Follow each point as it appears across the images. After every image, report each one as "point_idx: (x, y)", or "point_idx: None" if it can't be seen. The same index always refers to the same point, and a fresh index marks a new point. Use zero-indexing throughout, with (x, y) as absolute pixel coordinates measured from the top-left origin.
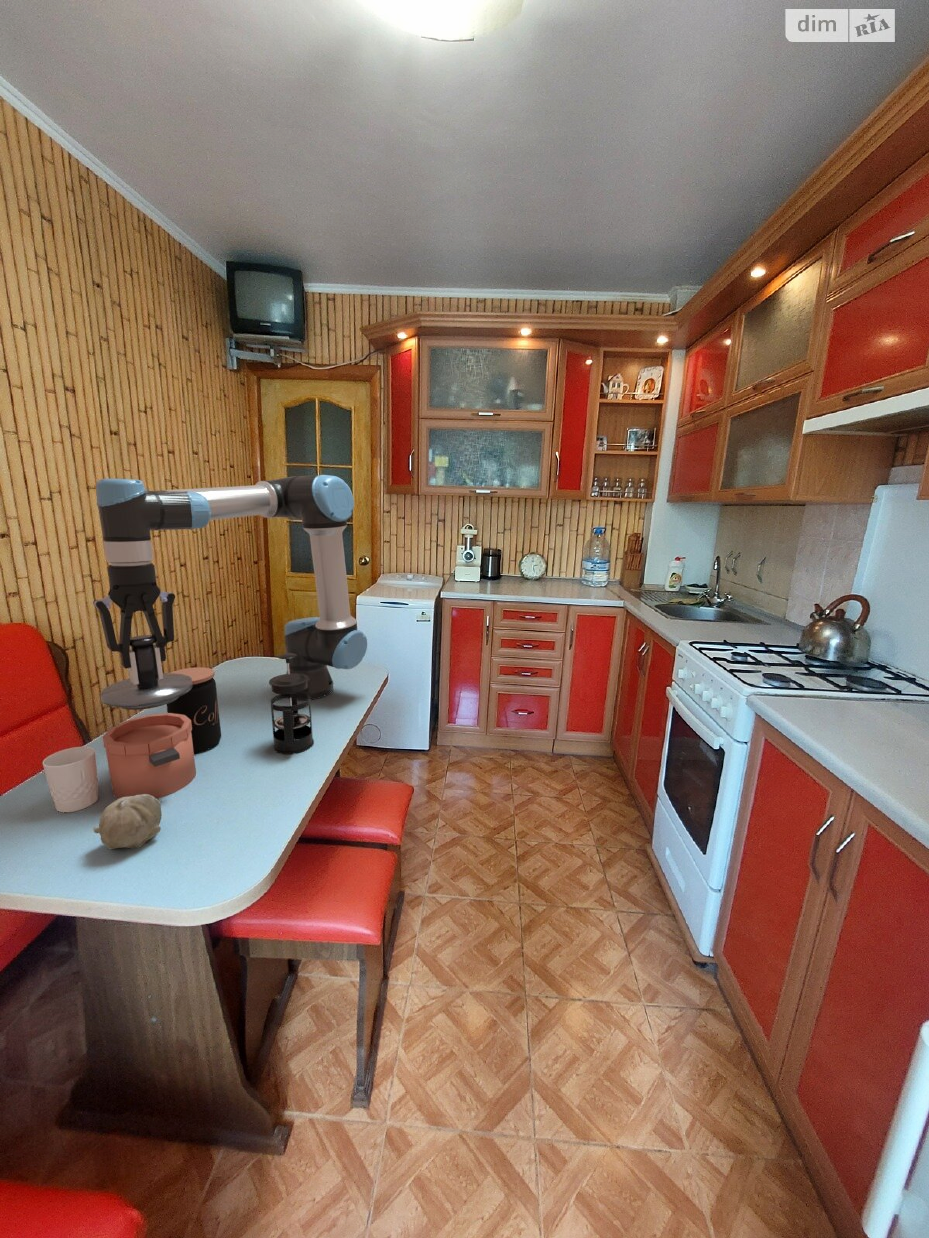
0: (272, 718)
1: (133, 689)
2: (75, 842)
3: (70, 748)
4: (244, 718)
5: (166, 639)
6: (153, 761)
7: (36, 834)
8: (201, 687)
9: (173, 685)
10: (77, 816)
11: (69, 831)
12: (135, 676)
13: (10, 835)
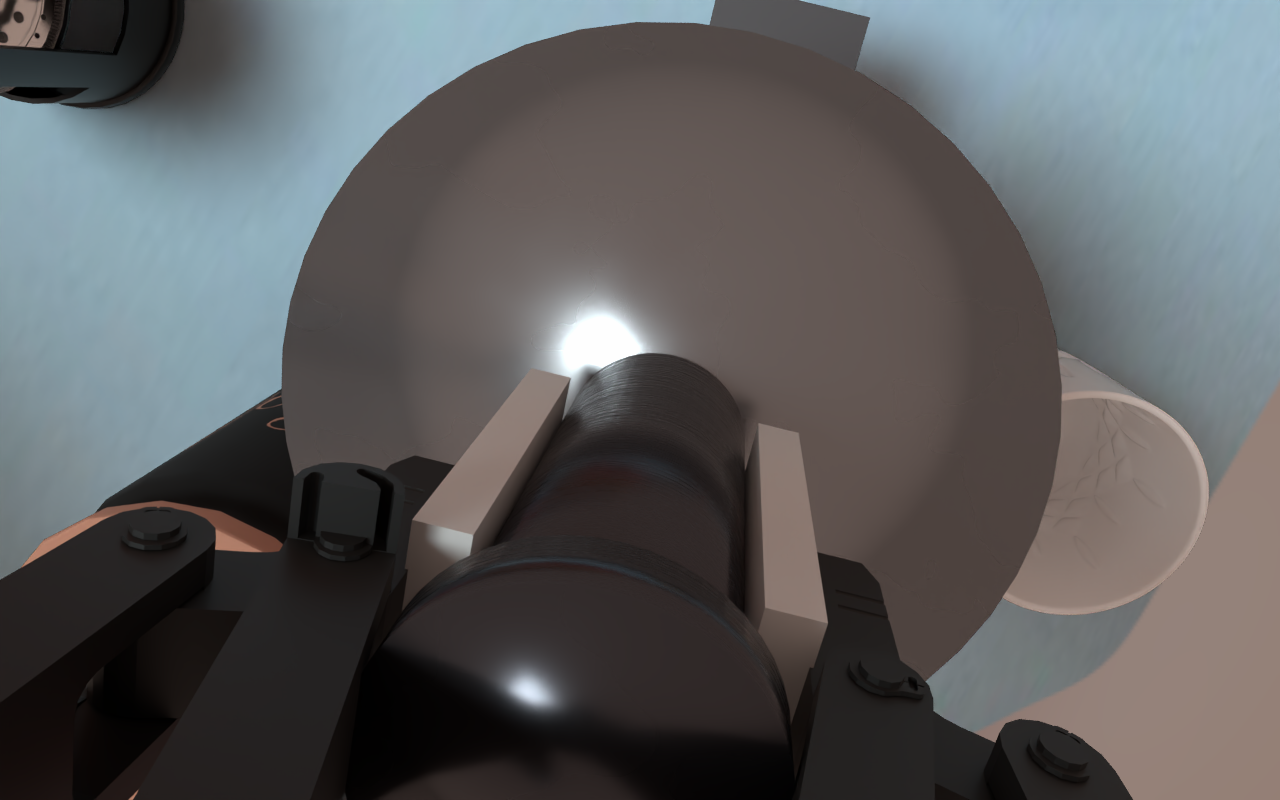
0: (31, 48)
1: None
2: (1200, 83)
3: (1014, 597)
4: (98, 508)
5: (218, 588)
6: (866, 26)
7: (1228, 302)
8: (204, 491)
9: (504, 244)
10: (1067, 295)
11: (1156, 200)
12: (782, 462)
13: (1275, 388)
